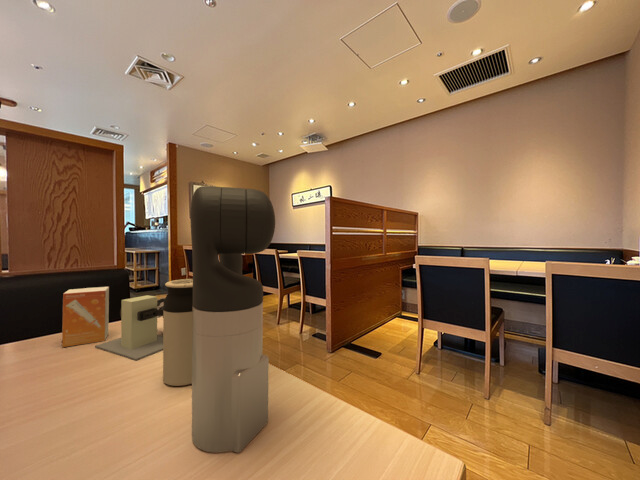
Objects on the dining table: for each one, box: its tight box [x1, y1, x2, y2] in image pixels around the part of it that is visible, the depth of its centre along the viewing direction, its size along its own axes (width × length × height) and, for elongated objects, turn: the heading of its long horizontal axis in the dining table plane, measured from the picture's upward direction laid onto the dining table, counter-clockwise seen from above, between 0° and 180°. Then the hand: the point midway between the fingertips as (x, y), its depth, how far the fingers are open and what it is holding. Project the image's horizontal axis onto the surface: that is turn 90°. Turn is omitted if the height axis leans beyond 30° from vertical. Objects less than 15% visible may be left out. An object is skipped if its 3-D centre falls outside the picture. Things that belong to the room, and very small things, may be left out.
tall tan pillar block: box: [120, 294, 158, 349], centre depth 64 cm, size 4×6×11 cm, turn 155°
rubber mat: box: [94, 334, 163, 362], centre depth 64 cm, size 16×11×1 cm
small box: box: [61, 286, 110, 348], centre depth 66 cm, size 8×6×13 cm
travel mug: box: [162, 278, 193, 387], centre depth 49 cm, size 8×8×18 cm
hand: (129, 314), depth 61 cm, fingers open, 6 cm apart
